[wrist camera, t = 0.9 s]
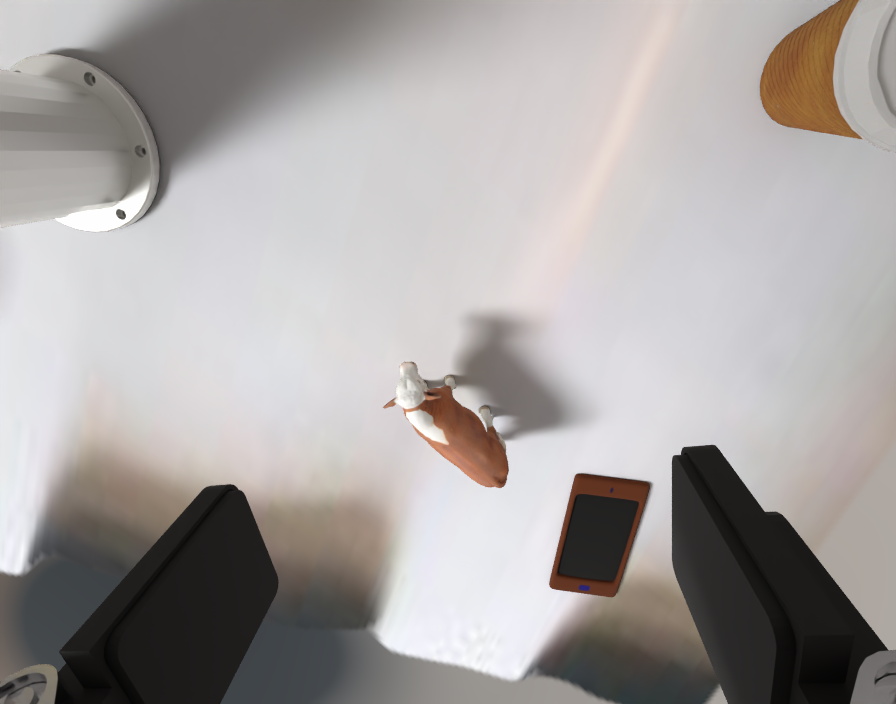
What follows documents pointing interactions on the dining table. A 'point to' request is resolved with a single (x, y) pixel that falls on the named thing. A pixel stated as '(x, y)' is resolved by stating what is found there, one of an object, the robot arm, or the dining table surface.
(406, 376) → the bull figurine
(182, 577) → the robot arm
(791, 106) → the disposable coffee cup
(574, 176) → the dining table surface
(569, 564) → the smartphone
